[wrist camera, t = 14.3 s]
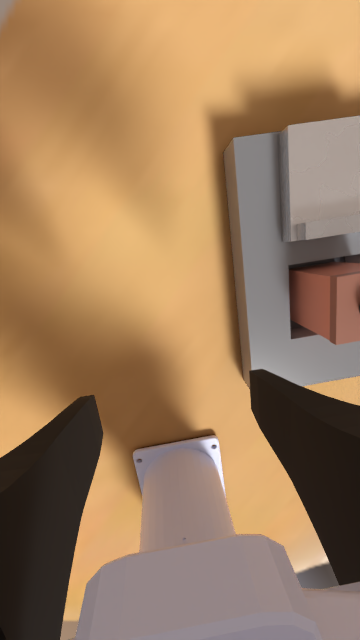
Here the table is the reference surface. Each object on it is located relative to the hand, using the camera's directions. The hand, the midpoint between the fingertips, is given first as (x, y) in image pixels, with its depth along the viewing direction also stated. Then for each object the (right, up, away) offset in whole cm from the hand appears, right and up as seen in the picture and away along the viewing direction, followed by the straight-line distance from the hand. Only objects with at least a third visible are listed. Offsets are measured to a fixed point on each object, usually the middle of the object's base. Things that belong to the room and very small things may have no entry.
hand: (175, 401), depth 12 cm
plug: (+11, +6, +9) cm, 15 cm away
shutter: (+10, +13, +5) cm, 17 cm away
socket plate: (+10, +8, +9) cm, 16 cm away
